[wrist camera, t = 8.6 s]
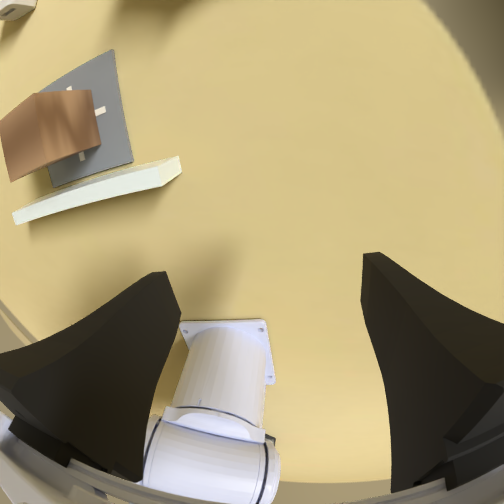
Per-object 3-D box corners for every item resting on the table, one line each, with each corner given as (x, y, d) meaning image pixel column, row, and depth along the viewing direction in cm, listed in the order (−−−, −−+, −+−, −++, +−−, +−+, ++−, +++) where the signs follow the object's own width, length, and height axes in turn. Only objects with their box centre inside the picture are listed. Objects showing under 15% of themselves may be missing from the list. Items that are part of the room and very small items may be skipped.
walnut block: (101, 144, 17) (46, 162, 12) (62, 160, 18) (10, 182, 13) (90, 89, 15) (33, 93, 10) (52, 110, 16) (-2, 122, 11)
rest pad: (133, 160, 18) (131, 162, 18) (55, 186, 19) (52, 188, 19) (113, 49, 14) (110, 49, 14) (36, 95, 15) (33, 95, 15)
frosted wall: (182, 172, 18) (162, 186, 15) (39, 210, 21) (16, 225, 18) (178, 155, 18) (157, 166, 15) (36, 199, 20) (11, 213, 17)
